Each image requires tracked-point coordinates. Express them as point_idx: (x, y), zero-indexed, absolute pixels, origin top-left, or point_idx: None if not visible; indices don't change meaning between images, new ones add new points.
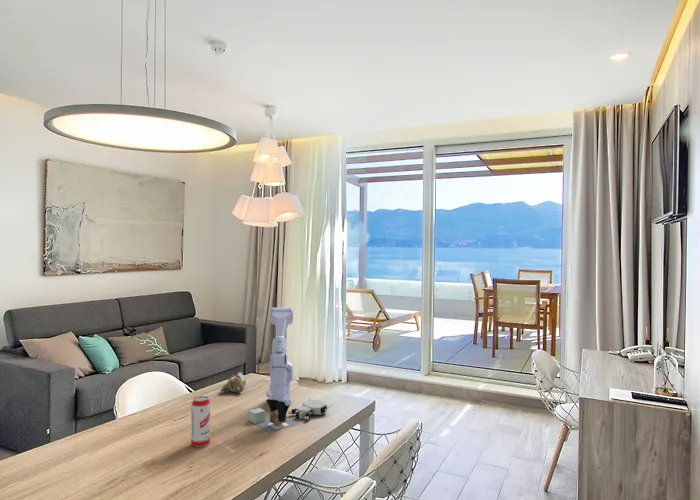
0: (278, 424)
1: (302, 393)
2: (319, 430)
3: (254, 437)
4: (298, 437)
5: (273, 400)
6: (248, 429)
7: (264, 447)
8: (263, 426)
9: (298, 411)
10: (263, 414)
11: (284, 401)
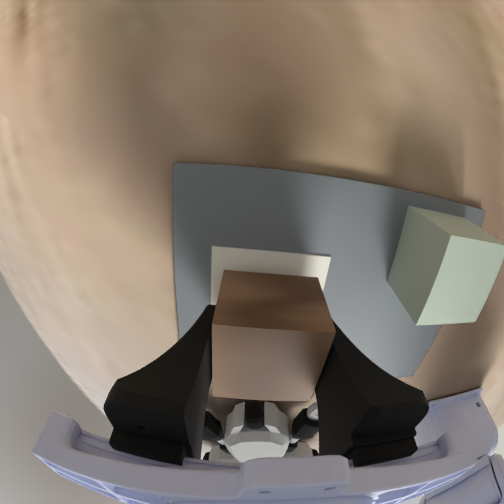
0: None
1: None
2: (87, 365)
3: (208, 49)
4: (51, 263)
5: (346, 443)
6: (374, 112)
7: (50, 48)
8: (322, 211)
9: (260, 432)
10: (410, 296)
11: (69, 451)
